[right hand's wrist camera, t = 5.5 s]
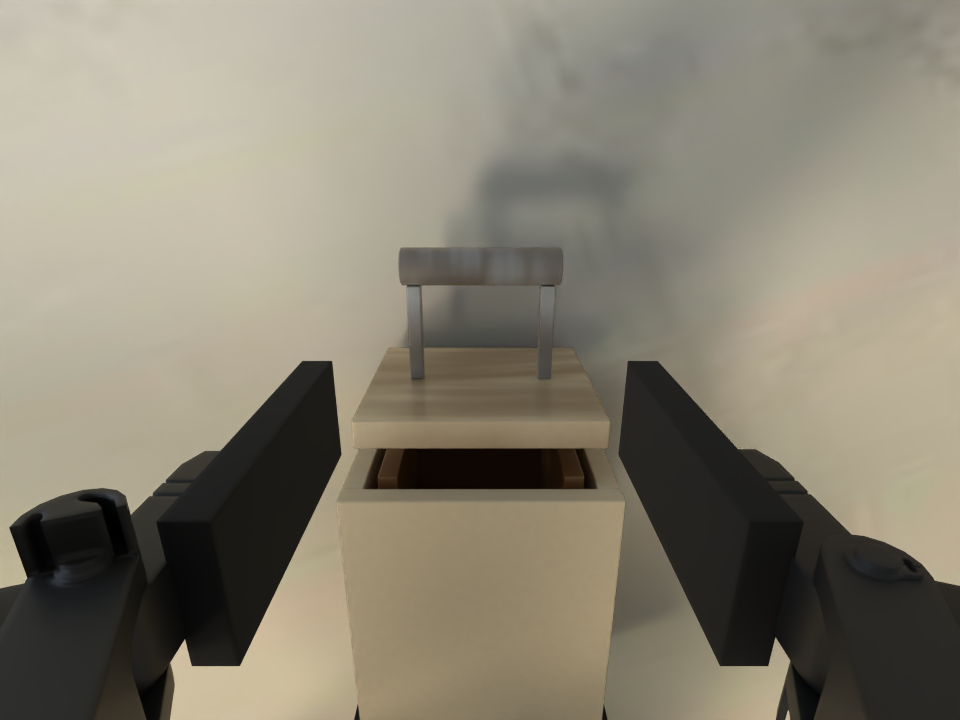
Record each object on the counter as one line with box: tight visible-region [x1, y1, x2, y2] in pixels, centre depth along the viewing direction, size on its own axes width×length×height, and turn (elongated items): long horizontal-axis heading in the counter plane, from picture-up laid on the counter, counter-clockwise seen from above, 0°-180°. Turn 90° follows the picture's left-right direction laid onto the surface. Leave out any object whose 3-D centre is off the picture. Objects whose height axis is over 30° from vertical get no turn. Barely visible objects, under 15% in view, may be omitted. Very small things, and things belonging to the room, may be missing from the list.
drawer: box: [351, 248, 611, 489], centre depth 26 cm, size 25×10×9 cm, turn 0°
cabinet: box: [336, 448, 626, 720], centre depth 28 cm, size 20×11×11 cm, turn 0°
